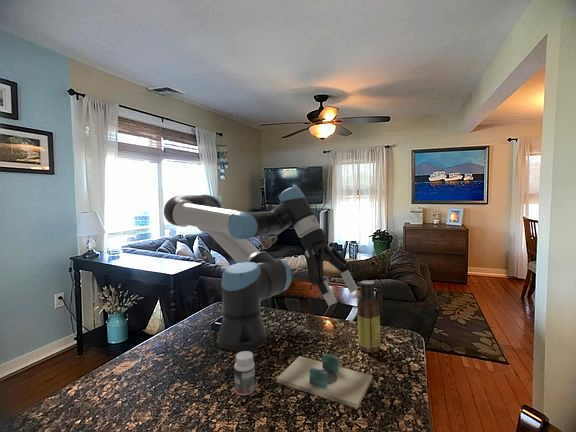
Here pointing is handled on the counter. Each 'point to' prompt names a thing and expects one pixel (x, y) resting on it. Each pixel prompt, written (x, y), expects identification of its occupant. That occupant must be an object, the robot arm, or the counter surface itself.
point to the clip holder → (327, 380)
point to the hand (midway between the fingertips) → (344, 297)
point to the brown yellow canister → (368, 319)
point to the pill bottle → (244, 373)
